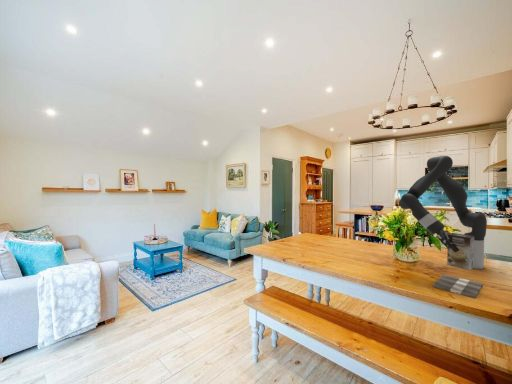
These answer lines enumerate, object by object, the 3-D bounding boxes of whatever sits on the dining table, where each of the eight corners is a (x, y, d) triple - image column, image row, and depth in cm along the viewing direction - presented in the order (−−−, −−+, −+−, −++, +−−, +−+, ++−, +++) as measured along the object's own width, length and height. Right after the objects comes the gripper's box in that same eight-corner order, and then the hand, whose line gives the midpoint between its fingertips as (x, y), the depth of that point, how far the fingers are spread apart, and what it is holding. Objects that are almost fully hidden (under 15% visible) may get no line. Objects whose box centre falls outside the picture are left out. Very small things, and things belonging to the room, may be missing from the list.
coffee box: (446, 265, 120) (446, 234, 119) (451, 262, 123) (451, 232, 123) (469, 270, 112) (470, 237, 112) (474, 267, 116) (474, 235, 115)
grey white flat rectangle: (443, 276, 131) (443, 274, 131) (482, 285, 119) (482, 283, 119) (432, 286, 119) (432, 284, 119) (475, 298, 106) (475, 296, 106)
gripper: (433, 221, 120) (463, 248, 111) (441, 217, 129) (469, 243, 120) (421, 229, 124) (448, 256, 116) (429, 226, 133) (455, 251, 125)
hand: (459, 249), depth 118 cm, fingers closed on coffee box, 7 cm apart
